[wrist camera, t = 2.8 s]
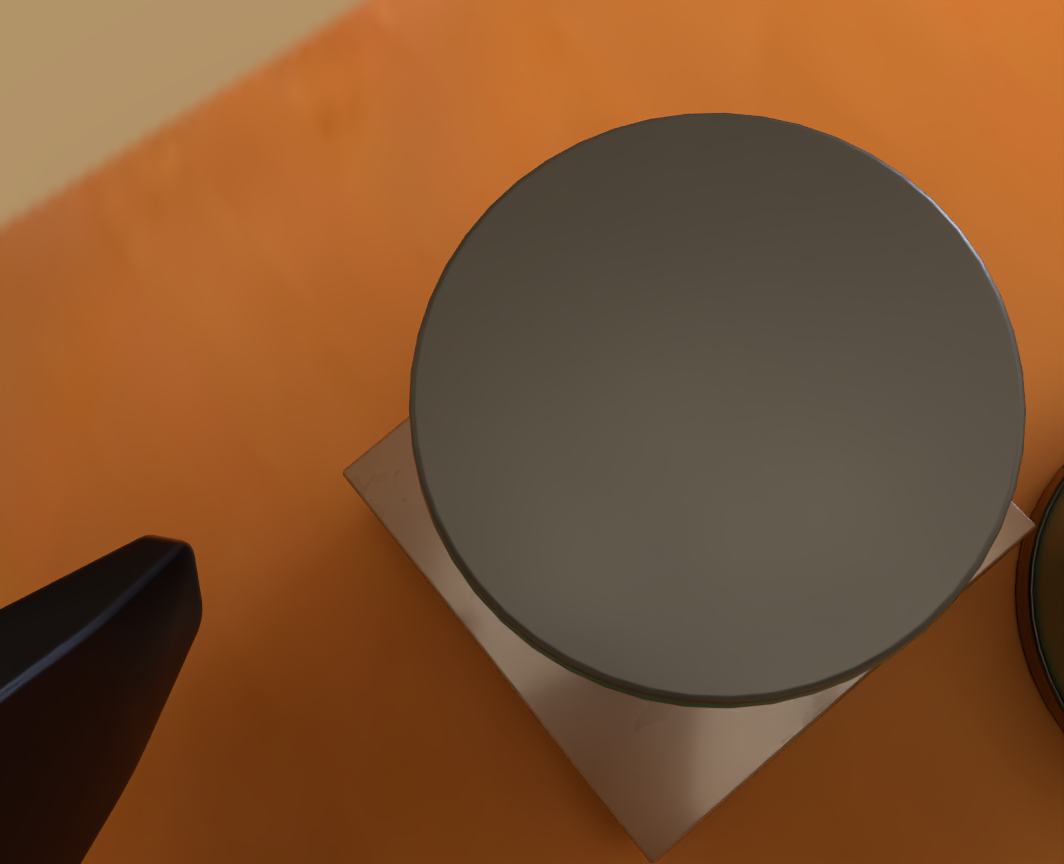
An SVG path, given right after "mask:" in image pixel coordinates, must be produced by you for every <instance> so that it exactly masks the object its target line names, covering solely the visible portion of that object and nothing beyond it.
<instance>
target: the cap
mask: <svg viewBox="0 0 1064 864" xmlns="http://www.w3.org/2000/svg"><path fill="white" fill-rule="evenodd" d="M409 416H410V429H411V442H412V449H413V456H414V460H415V465H416V470H417V474H418V479H419V484H420V488H421V491H422V494H423V497H424V500H425V503H426V505H427V508H428V511H429V514H430V516H431V519H432V522H433V525H434V527H435V529H436V531H437V533H438V535H439V537H440V539H441V540H442V542H443V544H444V546H445V548H446V550H447V552H448V554H449V556H450V558H451V560H452V561H453V563H454V564H455V566H456V567H457V568H458V570H459V571H460V573H461V574H462V576H463V577H464V578H465V580H466V581H467V583H468V584H469V586H470V587H471V588H472V590H473V591H474V593H475V594H476V595H477V596H478V597H479V598H480V599H481V600H482V601H483V602H484V604H485V605H486V606H487V607H488V608H489V609H490V610H491V611H492V612H493V613H494V614H495V616H496V617H497V618H498V619H499V620H500V621H501V622H502V623H503V624H504V625H506V626H507V627H508V628H509V629H510V630H512V631H513V632H514V633H515V634H516V635H518V636H519V637H520V638H521V639H522V640H524V641H525V642H526V643H527V644H528V645H530V646H531V647H532V648H533V649H535V650H536V651H538V652H540V653H541V654H543V655H544V656H546V657H548V658H549V659H551V660H552V661H554V662H555V663H557V664H559V665H560V666H562V667H563V668H565V669H567V670H568V671H570V672H573V673H575V674H577V675H579V676H581V677H583V678H586V679H588V680H590V681H592V682H594V683H597V684H599V685H601V686H603V687H605V688H608V689H612V690H615V691H618V692H621V693H625V694H628V695H631V696H634V697H637V698H641V699H644V700H648V701H654V702H660V703H666V704H672V705H678V706H684V707H700V708H729V709H730V708H740V707H750V706H760V705H770V704H776V703H780V702H784V701H788V700H792V699H796V698H801V697H805V696H809V695H813V694H816V693H818V692H821V691H824V690H826V689H829V688H831V687H834V686H836V685H839V684H841V683H844V682H847V681H849V680H852V679H854V678H856V677H857V676H859V675H861V674H863V673H865V672H866V671H868V670H870V669H872V668H874V667H875V666H877V665H879V664H881V663H882V662H884V661H886V660H888V659H890V658H891V657H892V656H894V655H895V654H896V653H898V652H899V651H900V650H902V649H903V648H904V647H905V646H907V645H908V644H909V643H911V642H912V641H913V640H915V639H916V638H917V637H919V636H920V635H921V634H923V633H924V632H925V631H926V630H927V629H928V628H929V627H930V626H931V625H932V624H933V623H934V622H935V621H936V620H937V618H938V617H939V616H940V615H941V614H942V613H943V612H944V611H945V610H946V609H947V608H948V607H949V606H950V605H951V604H952V603H953V602H954V601H955V600H956V599H957V598H958V597H959V595H960V594H961V592H962V591H963V590H964V588H965V587H966V586H967V584H968V583H969V582H970V580H971V579H972V578H973V576H974V575H975V574H976V572H977V571H978V569H979V568H980V567H981V565H982V564H983V562H984V560H985V558H986V556H987V554H988V552H989V551H990V549H991V547H992V545H993V543H994V541H995V539H996V538H997V536H998V534H999V532H1000V530H1001V528H1002V525H1003V522H1004V520H1005V517H1006V514H1007V511H1008V509H1009V506H1010V503H1011V501H1012V498H1013V495H1014V492H1015V489H1016V484H1017V479H1018V474H1019V469H1020V465H1021V460H1022V455H1023V448H1024V433H1025V417H1026V407H1025V394H1024V381H1023V370H1022V366H1021V361H1020V357H1019V352H1018V348H1017V343H1016V338H1015V334H1014V330H1013V327H1012V325H1011V322H1010V319H1009V317H1008V314H1007V311H1006V308H1005V306H1004V303H1003V300H1002V298H1001V295H1000V293H999V291H998V289H997V287H996V285H995V284H994V282H993V280H992V278H991V276H990V274H989V272H988V270H987V268H986V267H985V265H984V263H983V261H982V259H981V258H980V256H979V255H978V254H977V252H976V251H975V249H974V248H973V247H972V245H971V244H970V242H969V241H968V240H967V238H966V237H965V235H964V234H963V233H962V231H961V230H960V228H959V227H958V226H957V225H956V224H955V223H954V222H953V221H952V220H951V219H950V218H949V216H948V215H947V214H946V213H945V212H944V211H943V210H942V209H941V208H940V207H939V206H938V205H937V203H936V202H935V201H934V200H933V199H932V198H930V197H929V196H928V195H927V194H926V193H924V192H923V191H922V190H921V189H920V188H918V187H917V186H916V185H915V184H914V183H912V182H911V181H910V180H909V179H908V178H906V177H905V176H904V175H903V174H901V173H900V172H898V171H897V170H895V169H894V168H892V167H890V166H889V165H887V164H886V163H884V162H883V161H881V160H880V159H878V158H876V157H875V156H873V155H872V154H870V153H868V152H866V151H864V150H862V149H860V148H858V147H856V146H854V145H852V144H849V143H847V142H845V141H843V140H841V139H839V138H837V137H835V136H832V135H829V134H826V133H823V132H820V131H817V130H814V129H811V128H808V127H805V126H803V125H800V124H795V123H790V122H786V121H781V120H776V119H772V118H767V117H762V116H751V115H741V114H730V113H704V114H683V115H676V116H669V117H662V118H655V119H649V120H645V121H641V122H638V123H634V124H630V125H626V126H622V127H619V128H615V129H612V130H610V131H607V132H605V133H602V134H600V135H597V136H594V137H592V138H589V139H587V140H584V141H582V142H579V143H578V144H576V145H574V146H572V147H570V148H568V149H567V150H565V151H563V152H561V153H559V154H557V155H556V156H554V157H552V158H550V159H548V160H547V161H545V162H544V163H542V164H541V165H540V166H538V167H537V168H535V169H534V170H533V171H531V172H530V173H528V174H527V175H526V176H524V177H523V178H521V179H520V180H519V181H517V182H516V183H515V184H514V185H513V186H512V187H511V188H510V189H508V190H507V191H506V192H505V193H504V194H503V195H502V196H501V197H500V198H499V199H498V200H496V201H495V202H494V203H493V204H492V205H491V206H490V207H489V208H488V209H487V210H486V212H485V213H484V214H483V215H482V216H481V218H480V219H479V220H478V221H477V222H476V223H475V225H474V226H473V227H472V228H471V229H470V231H469V232H468V233H467V234H466V235H465V237H464V238H463V240H462V241H461V243H460V244H459V246H458V248H457V249H456V251H455V252H454V254H453V255H452V257H451V258H450V260H449V261H448V263H447V265H446V266H445V268H444V270H443V272H442V274H441V276H440V278H439V281H438V283H437V285H436V287H435V289H434V291H433V293H432V295H431V297H430V299H429V302H428V305H427V308H426V311H425V314H424V317H423V320H422V323H421V327H420V330H419V333H418V336H417V342H416V347H415V352H414V358H413V363H412V368H411V379H410V398H409Z"/></svg>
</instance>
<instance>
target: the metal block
mask: <svg viewBox="0 0 1064 864" xmlns="http://www.w3.org/2000/svg"><path fill="white" fill-rule="evenodd" d="M343 475H344V477H345V478H346V479H347V481H348V482H349V483H350V484H351V486H352V487H353V488H354V489H355V491H356V492H357V493H358V494H359V496H360V497H361V498H362V499H363V501H364V502H365V503H366V504H367V506H368V507H369V508H370V510H371V511H372V512H373V513H374V515H375V516H376V517H377V518H378V520H379V521H380V522H381V523H382V525H383V526H384V527H385V528H386V530H387V531H388V532H389V534H390V535H391V536H392V537H393V539H394V540H395V541H396V542H397V544H398V545H399V546H400V547H401V549H402V550H403V551H404V552H405V554H406V555H407V556H408V557H409V559H410V560H411V561H412V563H413V564H414V565H415V566H416V568H417V569H418V570H419V571H420V573H421V574H422V575H423V576H424V578H425V579H426V580H427V581H428V583H429V584H430V585H431V587H432V588H433V589H434V590H435V592H436V593H437V594H438V595H439V597H440V598H441V599H442V600H443V602H444V603H445V604H446V605H447V607H448V608H449V609H450V610H451V612H452V613H453V614H454V616H455V617H456V618H457V619H458V621H459V622H460V623H461V624H462V626H463V627H464V628H465V629H466V631H467V632H468V633H469V634H470V636H471V637H472V638H473V640H474V641H475V642H476V643H477V645H478V646H479V647H480V648H481V650H482V651H483V652H484V653H485V655H486V656H487V657H488V658H489V660H490V661H491V662H492V664H493V665H494V666H495V667H496V669H497V670H498V671H499V672H500V674H501V675H502V676H503V677H504V679H505V680H506V681H507V682H508V684H509V685H510V686H511V687H512V689H513V690H514V691H515V693H516V694H517V695H518V696H519V698H520V699H521V700H522V701H523V703H524V704H525V705H526V706H527V708H528V709H529V710H530V711H531V713H532V714H533V715H534V717H535V718H536V719H537V720H538V722H539V723H540V724H541V725H542V727H543V728H544V729H545V730H546V732H547V733H548V734H549V735H550V737H551V738H552V739H553V740H554V742H555V743H556V744H557V746H558V747H559V748H560V749H561V751H562V752H563V753H564V754H565V756H566V757H567V758H568V759H569V761H570V762H571V763H572V764H573V766H574V767H575V768H576V770H577V771H578V772H579V773H580V775H581V776H582V777H583V778H584V780H585V781H586V782H587V783H588V785H589V786H590V787H591V788H592V790H593V791H594V792H595V793H596V795H597V796H598V797H599V799H600V800H601V801H602V802H603V804H604V805H605V806H606V807H607V809H608V810H609V811H610V812H611V814H612V815H613V816H614V817H615V819H616V820H617V821H618V823H619V824H620V825H621V826H622V828H623V829H624V830H625V831H626V833H627V834H628V835H629V836H630V838H631V839H632V840H633V841H634V843H635V844H636V845H637V847H638V848H639V849H640V850H641V852H642V853H643V854H644V855H645V857H646V858H647V859H648V860H649V862H651V863H655V862H656V861H658V860H659V859H660V858H661V857H662V856H663V855H664V854H665V853H667V852H668V851H669V850H670V849H671V848H672V847H673V846H675V845H676V844H677V843H678V842H679V841H680V840H681V839H683V838H684V837H685V836H686V835H687V834H688V833H689V832H691V831H692V830H693V829H694V828H695V827H696V826H697V825H699V824H700V823H701V822H702V821H703V820H704V819H705V818H706V817H708V816H709V815H710V814H711V813H712V812H713V811H714V810H716V809H717V808H718V807H719V806H720V805H721V804H722V803H724V802H725V801H726V800H727V799H728V798H729V797H730V796H732V795H733V794H734V793H735V792H736V791H737V790H738V789H739V788H741V787H742V786H743V785H744V784H745V783H746V782H747V781H749V780H750V779H751V778H752V777H753V776H754V775H755V774H757V773H758V772H759V771H760V770H761V769H762V768H763V767H765V766H766V765H767V764H768V763H769V762H770V761H771V760H772V759H774V758H775V757H776V756H777V755H778V754H779V753H780V752H782V751H783V750H784V749H785V748H786V747H787V746H788V745H790V744H791V743H792V742H793V741H794V740H795V739H796V738H798V737H799V736H800V735H801V734H802V733H803V732H804V731H805V730H807V729H808V728H809V727H810V726H811V725H812V724H813V723H815V722H816V721H817V720H818V719H819V718H820V717H821V716H823V715H824V714H825V713H826V712H827V711H828V710H829V709H831V708H832V707H833V706H834V705H835V704H836V703H837V702H838V701H840V700H841V699H842V698H843V697H844V696H845V695H846V694H848V693H849V692H850V691H851V690H852V689H853V688H854V687H856V686H857V685H858V684H859V683H860V682H861V681H862V680H864V679H865V678H866V677H867V676H868V675H869V674H870V673H871V672H873V671H874V670H875V669H876V668H877V667H878V666H879V665H881V664H882V663H883V662H882V663H881V664H879V665H877V666H875V667H874V668H872V669H870V670H868V671H866V672H865V673H863V674H861V675H859V676H857V677H856V678H854V679H852V680H849V681H847V682H844V683H841V684H839V685H836V686H834V687H831V688H829V689H826V690H824V691H821V692H818V693H816V694H813V695H809V696H805V697H801V698H796V699H792V700H788V701H784V702H780V703H776V704H770V705H760V706H750V707H740V708H730V709H729V708H700V707H684V706H678V705H672V704H666V703H660V702H654V701H648V700H644V699H641V698H637V697H634V696H631V695H628V694H625V693H621V692H618V691H615V690H612V689H608V688H605V687H603V686H601V685H599V684H597V683H594V682H592V681H590V680H588V679H586V678H583V677H581V676H579V675H577V674H575V673H573V672H570V671H568V670H567V669H565V668H563V667H562V666H560V665H559V664H557V663H555V662H554V661H552V660H551V659H549V658H548V657H546V656H544V655H543V654H541V653H540V652H538V651H536V650H535V649H533V648H532V647H531V646H530V645H528V644H527V643H526V642H525V641H524V640H522V639H521V638H520V637H519V636H518V635H516V634H515V633H514V632H513V631H512V630H510V629H509V628H508V627H507V626H506V625H504V624H503V623H502V622H501V621H500V620H499V619H498V618H497V617H496V616H495V614H494V613H493V612H492V611H491V610H490V609H489V608H488V607H487V606H486V605H485V604H484V602H483V601H482V600H481V599H480V598H479V597H478V596H477V595H476V594H475V593H474V591H473V590H472V588H471V587H470V586H469V584H468V583H467V581H466V580H465V578H464V577H463V576H462V574H461V573H460V571H459V570H458V568H457V567H456V566H455V564H454V563H453V561H452V560H451V558H450V556H449V554H448V552H447V550H446V548H445V546H444V544H443V542H442V540H441V539H440V537H439V535H438V533H437V531H436V529H435V527H434V525H433V522H432V519H431V516H430V514H429V511H428V508H427V505H426V503H425V500H424V497H423V494H422V491H421V488H420V484H419V479H418V474H417V470H416V465H415V460H414V456H413V449H412V442H411V429H410V416H409V417H408V418H407V419H406V420H404V421H403V422H402V423H401V424H399V425H398V426H397V427H396V428H395V429H393V430H392V431H391V432H390V433H389V434H387V435H386V436H385V437H384V438H383V439H381V440H380V441H379V442H378V443H376V444H375V445H374V446H373V447H372V448H370V449H369V450H368V451H367V452H366V453H364V454H363V455H362V456H361V457H359V458H358V459H357V460H356V461H355V462H353V463H352V464H351V465H350V466H349V467H347V468H346V469H345V470H344V471H343ZM1035 527H1036V526H1035V524H1034V523H1033V522H1032V521H1031V520H1030V519H1029V518H1028V517H1027V516H1026V515H1025V514H1024V513H1023V512H1022V511H1021V509H1020V508H1019V507H1018V506H1017V505H1016V504H1015V503H1014V502H1013V501H1011V503H1010V506H1009V509H1008V511H1007V514H1006V517H1005V520H1004V522H1003V525H1002V528H1001V530H1000V532H999V534H998V536H997V538H996V539H995V541H994V543H993V545H992V547H991V549H990V551H989V552H988V554H987V556H986V558H985V560H984V562H983V564H982V565H981V567H980V568H979V569H978V571H977V572H976V574H975V575H974V576H973V578H972V579H971V580H970V582H969V583H968V584H967V586H966V587H965V588H964V590H963V591H962V592H961V593H963V592H964V591H965V590H966V589H967V588H968V587H969V586H971V585H972V584H973V583H974V582H975V581H976V580H977V579H978V578H980V577H981V576H982V575H983V574H984V573H985V572H986V571H988V570H989V569H990V568H991V567H992V566H993V565H994V564H996V563H997V562H998V561H999V560H1000V559H1001V558H1002V557H1004V556H1005V555H1006V554H1007V553H1008V552H1009V551H1010V550H1011V549H1013V548H1014V547H1015V546H1016V545H1017V544H1018V543H1019V542H1021V541H1022V540H1023V539H1024V538H1025V537H1026V536H1027V535H1029V534H1030V533H1031V532H1032V531H1033V530H1034V529H1035Z"/></svg>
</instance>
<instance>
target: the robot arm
mask: <svg viewBox="0 0 1064 864" xmlns="http://www.w3.org/2000/svg"><path fill="white" fill-rule="evenodd" d="M201 618H202V599H201V593H200V586H199V580H198V573H197V567H196V561H195V555H194V551H193V549H192V547H191V546H190V545H189V543H187V542H185V541H182V540H177V539H172V538H167V537H161V536H156V535H147V536H143V537H141V538H138V539H136V540H134V541H132V542H130V543H129V544H127V545H125V546H123V547H121V548H119V549H117V550H115V551H113V552H111V553H109V554H107V555H105V556H103V557H101V558H99V559H97V560H95V561H93V562H91V563H90V564H88V565H86V566H84V567H82V568H80V569H78V570H76V571H74V572H72V573H70V574H68V575H66V576H64V577H62V578H60V579H58V580H56V581H54V582H52V583H51V584H49V585H47V586H45V587H43V588H41V589H39V590H37V591H35V592H33V593H31V594H29V595H27V596H25V597H23V598H21V599H19V600H17V601H15V602H13V603H11V604H10V605H8V606H6V607H4V608H2V609H0V864H81V862H82V861H83V859H84V857H85V856H86V854H87V852H88V850H89V849H90V847H91V845H92V844H93V842H94V840H95V839H96V837H97V835H98V833H99V832H100V830H101V828H102V827H103V825H104V823H105V822H106V820H107V818H108V816H109V815H110V813H111V811H112V810H113V808H114V806H115V805H116V803H117V801H118V799H119V798H120V796H121V794H122V792H123V791H124V789H125V787H126V785H127V783H128V782H129V780H130V778H131V776H132V774H133V773H134V771H135V768H136V766H137V764H138V762H139V760H140V758H141V756H142V754H143V752H144V750H145V748H146V745H147V743H148V741H149V739H150V737H151V734H152V732H153V730H154V728H155V725H156V723H157V721H158V719H159V717H160V714H161V712H162V710H163V708H164V705H165V703H166V701H167V699H168V697H169V694H170V692H171V690H172V688H173V686H174V683H175V681H176V679H177V677H178V674H179V672H180V670H181V668H182V666H183V663H184V661H185V659H186V657H187V654H188V652H189V650H190V648H191V646H192V643H193V641H194V639H195V637H196V634H197V632H198V630H199V626H200V623H201Z"/></svg>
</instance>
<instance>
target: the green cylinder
mask: <svg viewBox="0 0 1064 864" xmlns="http://www.w3.org/2000/svg"><path fill="white" fill-rule="evenodd" d="M1030 520H1031V521H1032V522H1033V523H1034V524H1035V526H1036V527H1035V529H1034V530H1033V531H1032V532H1031V533H1030V534H1029V535H1027V536H1026V537H1025V538H1024V539H1023V542H1022V547H1021V552H1020V557H1019V562H1018V570H1017V585H1016V600H1017V614H1018V624H1019V628H1020V633H1021V638H1022V643H1023V648H1024V652H1025V654H1026V657H1027V660H1028V663H1029V666H1030V669H1031V672H1032V675H1033V678H1034V680H1035V682H1036V684H1037V686H1038V688H1039V690H1040V692H1041V694H1042V696H1043V698H1044V700H1045V702H1046V704H1047V706H1048V708H1049V709H1050V711H1051V712H1052V714H1053V715H1054V717H1055V719H1056V720H1057V722H1058V723H1059V725H1060V726H1061V728H1062V729H1063V731H1064V466H1063V467H1062V468H1061V469H1060V470H1059V472H1058V473H1057V474H1056V476H1055V477H1054V478H1053V480H1052V481H1051V483H1050V484H1049V485H1048V487H1047V488H1046V489H1045V491H1044V493H1043V495H1042V496H1041V498H1040V500H1039V502H1038V504H1037V506H1036V508H1035V510H1034V511H1033V513H1032V516H1031V519H1030Z"/></svg>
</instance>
